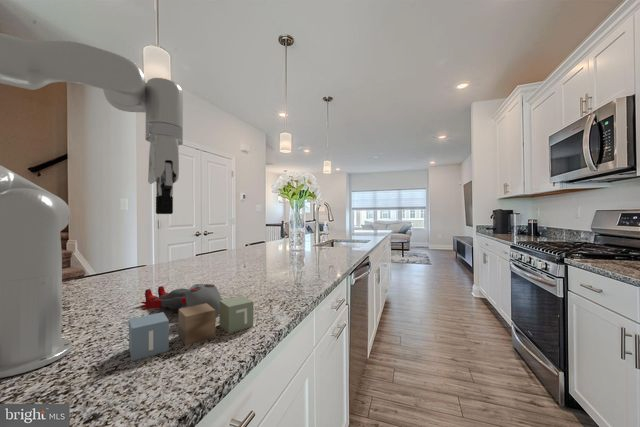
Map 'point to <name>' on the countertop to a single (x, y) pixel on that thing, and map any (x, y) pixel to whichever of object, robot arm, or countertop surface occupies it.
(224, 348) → the countertop surface
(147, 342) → the slate block
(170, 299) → the toy
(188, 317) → the walnut block
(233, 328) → the olive block
